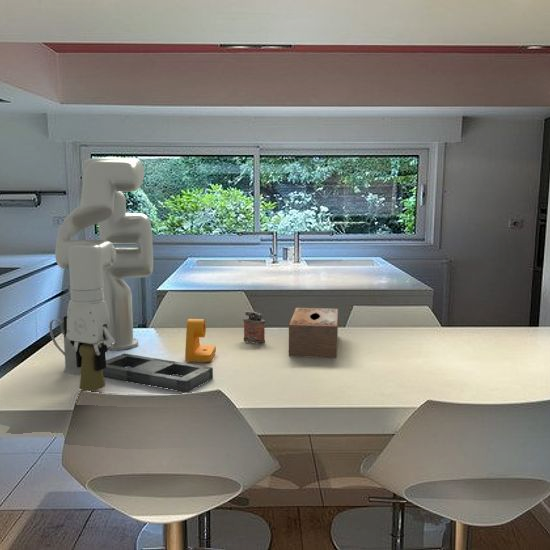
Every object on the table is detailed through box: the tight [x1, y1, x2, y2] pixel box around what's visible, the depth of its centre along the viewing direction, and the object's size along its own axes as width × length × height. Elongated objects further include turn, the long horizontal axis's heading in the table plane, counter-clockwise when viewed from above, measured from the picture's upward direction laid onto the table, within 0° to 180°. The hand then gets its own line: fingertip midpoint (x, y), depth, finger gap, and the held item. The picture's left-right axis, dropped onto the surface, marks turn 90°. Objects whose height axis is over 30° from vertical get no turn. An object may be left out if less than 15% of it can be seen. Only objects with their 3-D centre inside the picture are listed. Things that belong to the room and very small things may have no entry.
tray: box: [102, 353, 214, 393], centre depth 146 cm, size 30×12×3 cm, turn 64°
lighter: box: [242, 310, 266, 344], centre depth 182 cm, size 8×3×10 cm, turn 58°
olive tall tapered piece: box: [79, 343, 106, 392], centre depth 135 cm, size 6×6×11 cm
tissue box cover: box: [288, 307, 339, 359], centre depth 177 cm, size 26×14×10 cm, turn 173°
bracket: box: [184, 318, 217, 363], centre depth 163 cm, size 11×7×12 cm, turn 177°
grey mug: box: [49, 315, 81, 376], centre depth 153 cm, size 9×14×15 cm, turn 70°
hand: (91, 366), depth 135 cm, fingers closed on olive tall tapered piece, 5 cm apart
